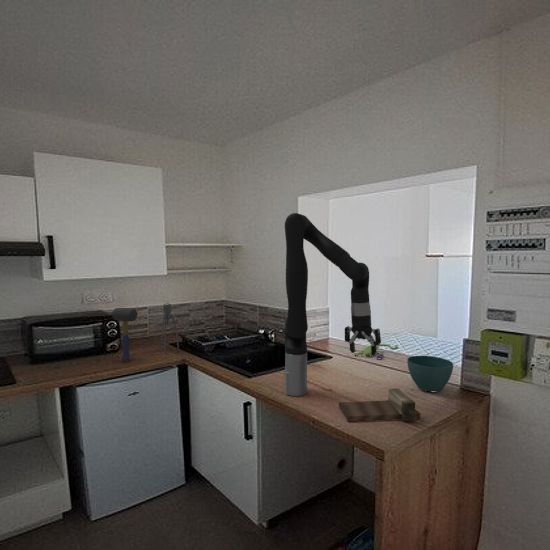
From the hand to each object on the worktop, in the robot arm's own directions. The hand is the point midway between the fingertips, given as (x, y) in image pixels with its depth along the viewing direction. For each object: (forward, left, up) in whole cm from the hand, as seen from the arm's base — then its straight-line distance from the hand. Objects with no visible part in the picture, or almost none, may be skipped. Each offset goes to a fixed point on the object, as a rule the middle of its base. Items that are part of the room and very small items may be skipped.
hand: (363, 353), depth 141 cm
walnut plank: (+2, -12, -19) cm, 22 cm away
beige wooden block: (+10, -13, -19) cm, 25 cm away
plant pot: (+33, +9, -19) cm, 39 cm away
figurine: (+30, +66, -20) cm, 76 cm away
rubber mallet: (-113, +66, -19) cm, 133 cm away
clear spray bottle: (-94, +83, -19) cm, 127 cm away
